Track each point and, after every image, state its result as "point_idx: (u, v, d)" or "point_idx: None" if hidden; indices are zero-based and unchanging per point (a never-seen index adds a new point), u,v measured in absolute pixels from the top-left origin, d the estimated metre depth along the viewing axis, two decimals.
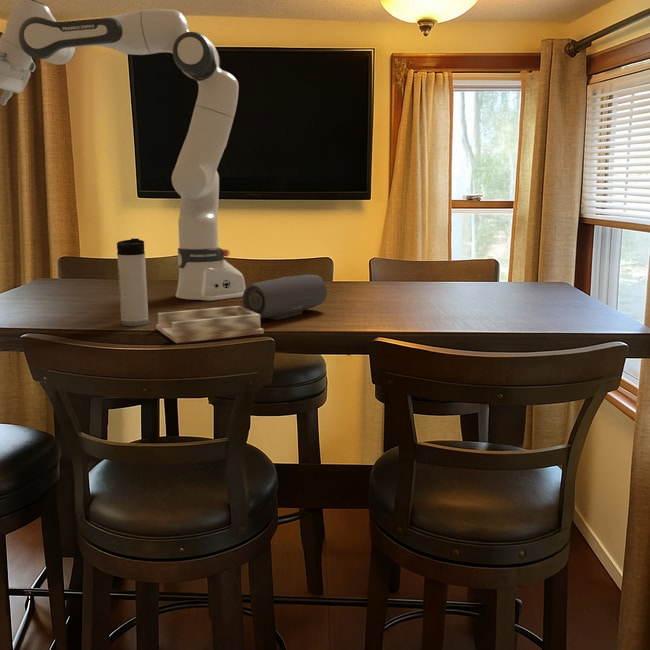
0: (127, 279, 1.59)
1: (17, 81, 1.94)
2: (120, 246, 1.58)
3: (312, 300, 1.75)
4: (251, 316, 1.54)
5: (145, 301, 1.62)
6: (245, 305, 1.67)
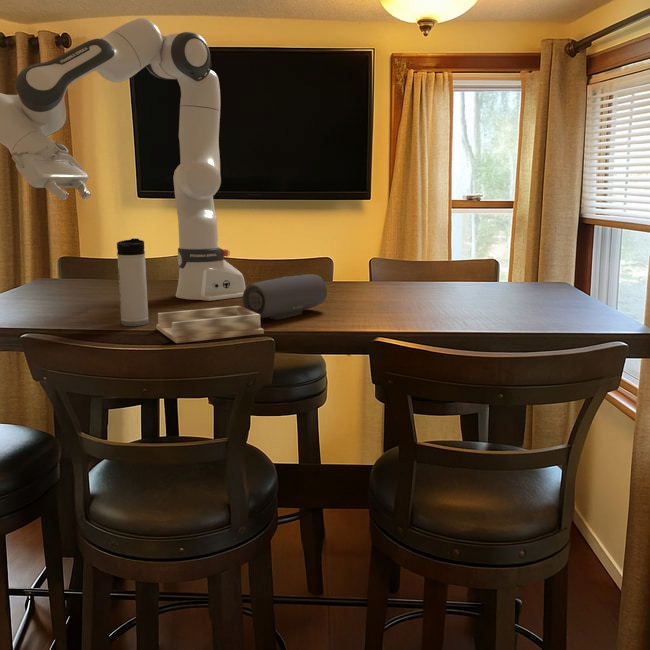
0: (127, 279, 1.59)
1: (70, 167, 1.65)
2: (120, 246, 1.58)
3: (312, 300, 1.75)
4: (251, 316, 1.54)
5: (145, 301, 1.62)
6: (245, 305, 1.67)
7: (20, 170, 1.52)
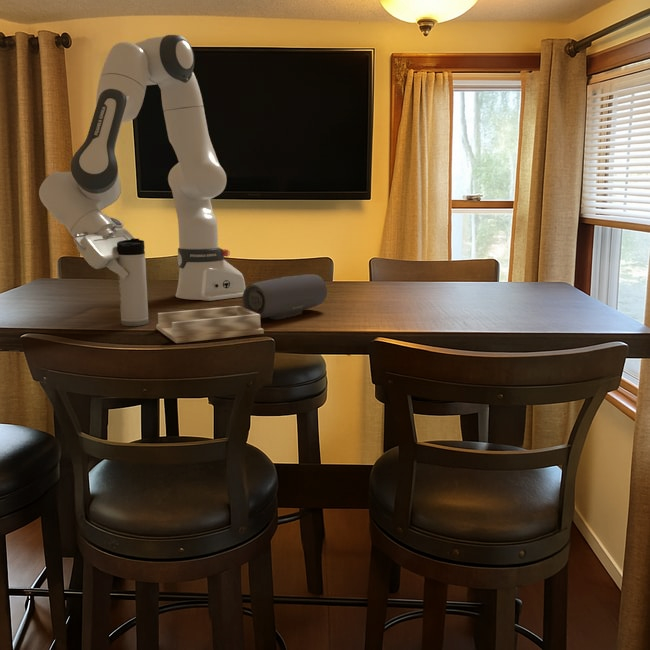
0: (127, 279, 1.59)
1: None
2: (120, 246, 1.58)
3: (312, 300, 1.75)
4: (251, 316, 1.54)
5: (145, 301, 1.62)
6: (245, 305, 1.67)
7: (81, 252, 1.53)
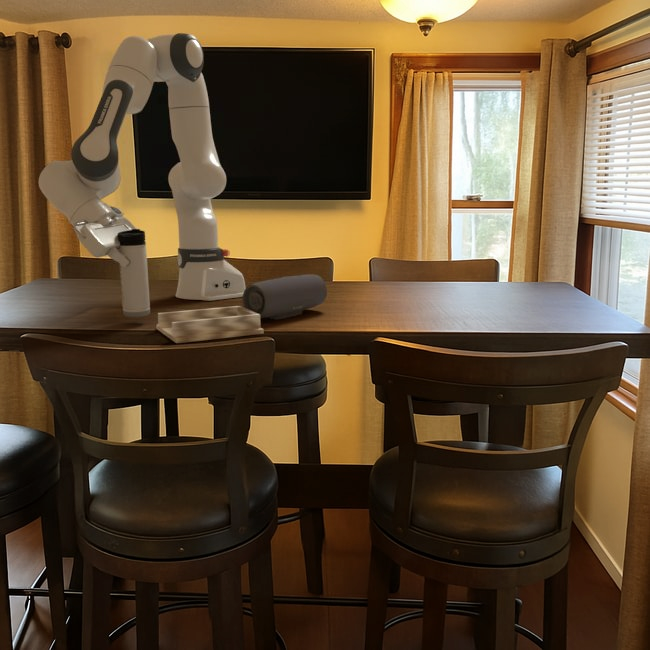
0: (128, 270, 1.59)
1: None
2: (121, 237, 1.58)
3: (312, 300, 1.75)
4: (251, 316, 1.54)
5: (147, 291, 1.62)
6: (245, 305, 1.67)
7: (82, 241, 1.52)
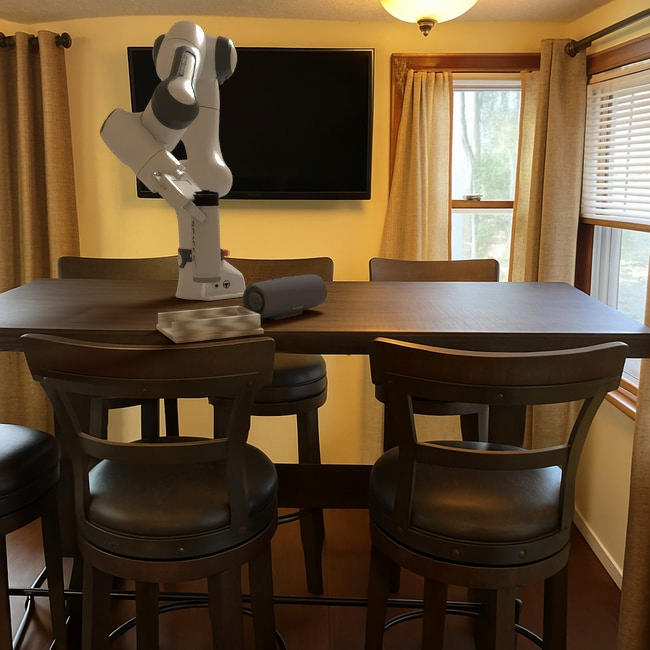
0: (204, 232, 1.49)
1: (192, 186, 1.55)
2: (196, 196, 1.48)
3: (312, 300, 1.75)
4: (251, 316, 1.54)
5: (220, 256, 1.53)
6: (245, 305, 1.67)
7: (161, 192, 1.41)
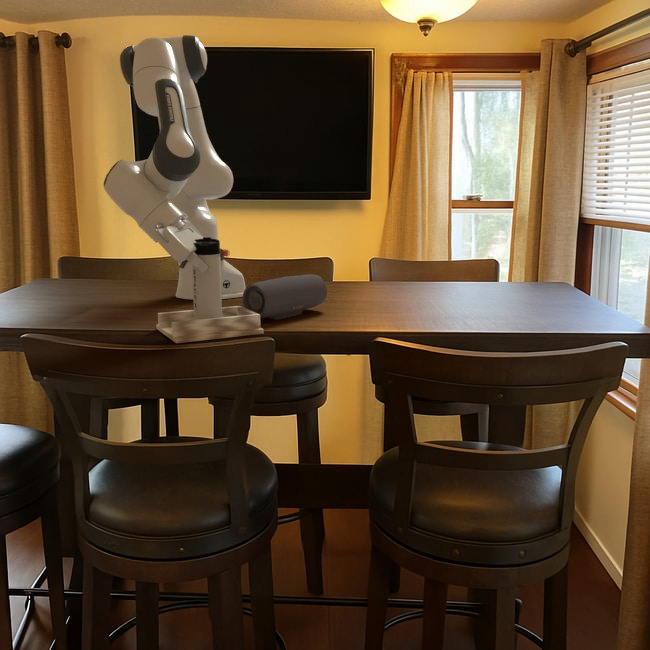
0: (205, 280, 1.51)
1: (194, 235, 1.57)
2: (198, 245, 1.50)
3: (312, 300, 1.75)
4: (251, 316, 1.54)
5: (221, 303, 1.55)
6: (245, 305, 1.67)
7: (164, 245, 1.43)
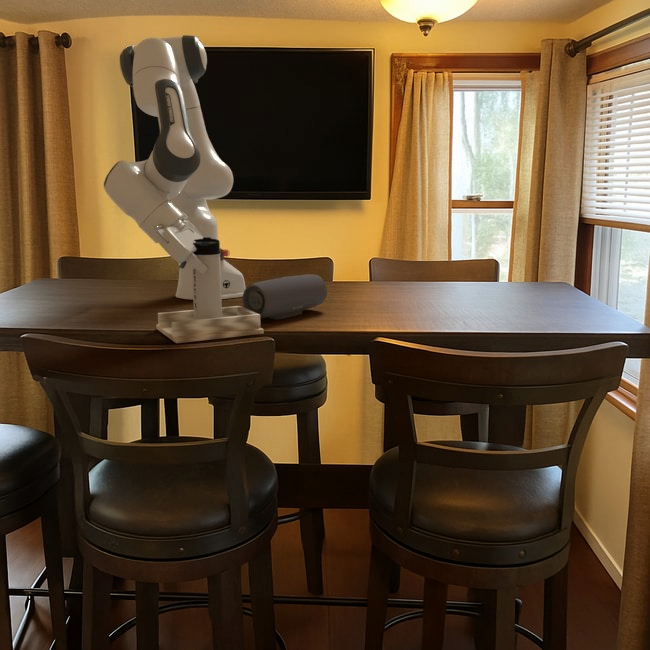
0: (205, 280, 1.51)
1: (194, 235, 1.57)
2: (198, 245, 1.50)
3: (312, 300, 1.75)
4: (251, 316, 1.54)
5: (221, 303, 1.55)
6: (245, 305, 1.67)
7: (164, 245, 1.43)
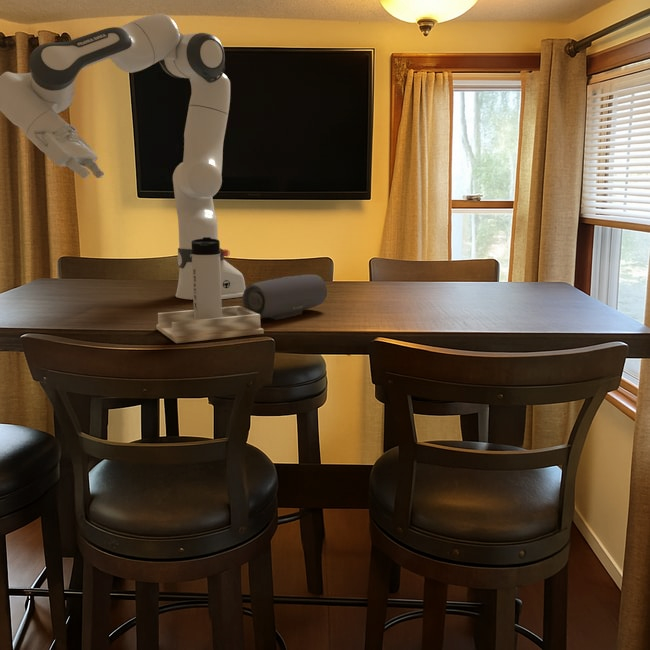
0: (205, 280, 1.51)
1: (82, 147, 1.66)
2: (198, 245, 1.50)
3: (312, 300, 1.75)
4: (251, 316, 1.54)
5: (221, 303, 1.55)
6: (245, 305, 1.67)
7: (43, 149, 1.52)
